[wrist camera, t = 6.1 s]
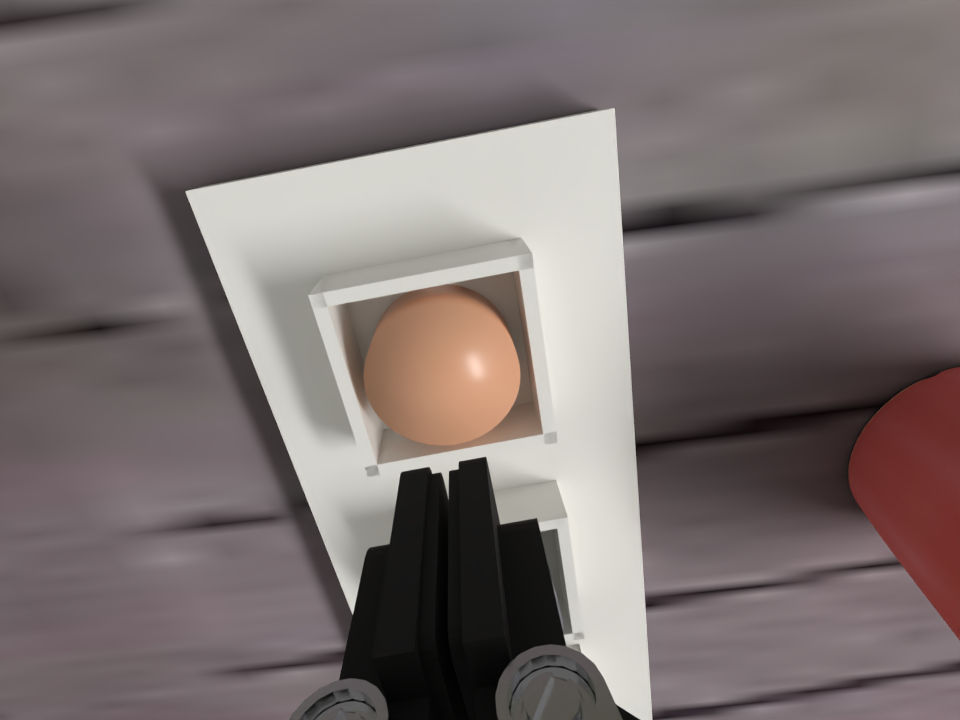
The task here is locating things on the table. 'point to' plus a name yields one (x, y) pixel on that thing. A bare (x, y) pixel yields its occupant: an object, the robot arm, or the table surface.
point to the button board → (529, 316)
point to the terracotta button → (442, 366)
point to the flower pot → (916, 485)
